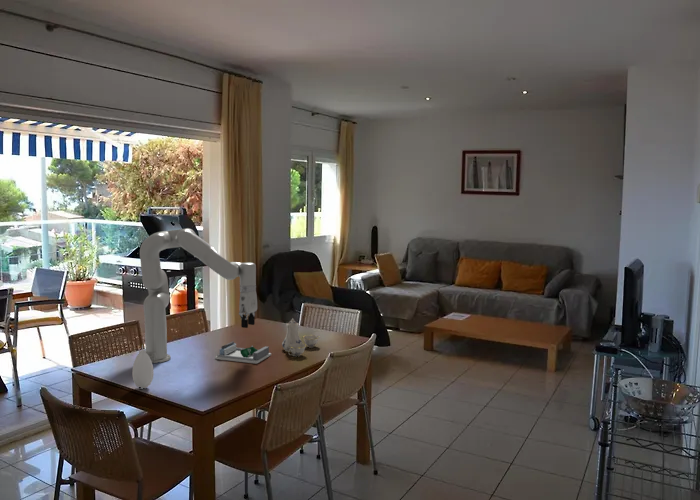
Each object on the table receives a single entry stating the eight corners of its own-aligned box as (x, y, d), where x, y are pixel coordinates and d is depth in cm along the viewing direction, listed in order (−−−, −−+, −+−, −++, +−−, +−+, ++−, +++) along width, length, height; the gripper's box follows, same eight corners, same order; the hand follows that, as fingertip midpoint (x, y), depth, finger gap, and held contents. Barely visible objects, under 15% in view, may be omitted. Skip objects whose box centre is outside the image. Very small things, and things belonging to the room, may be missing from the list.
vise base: (256, 363, 259) (256, 354, 259) (215, 358, 266) (215, 349, 265) (271, 355, 273) (271, 346, 273) (231, 350, 280) (231, 342, 280)
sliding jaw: (224, 356, 266) (224, 347, 266) (219, 355, 267) (219, 346, 266) (236, 349, 277) (236, 341, 277) (232, 349, 278) (232, 340, 278)
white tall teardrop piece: (129, 388, 224) (128, 344, 222) (147, 383, 230) (146, 340, 228) (138, 393, 219) (137, 347, 217) (157, 388, 224) (156, 344, 223)
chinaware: (304, 362, 267) (308, 329, 266) (271, 356, 271) (275, 323, 269) (320, 347, 295) (323, 316, 293) (290, 342, 298) (293, 311, 296)
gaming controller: (258, 358, 271) (252, 347, 273) (261, 353, 269) (256, 343, 271) (243, 362, 264) (237, 351, 266) (246, 357, 262) (240, 347, 264)
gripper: (246, 292, 256) (246, 330, 258) (263, 286, 273) (263, 322, 274) (231, 291, 259) (231, 329, 260) (249, 285, 275) (249, 321, 277)
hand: (248, 325), depth 267 cm, fingers open, 5 cm apart
